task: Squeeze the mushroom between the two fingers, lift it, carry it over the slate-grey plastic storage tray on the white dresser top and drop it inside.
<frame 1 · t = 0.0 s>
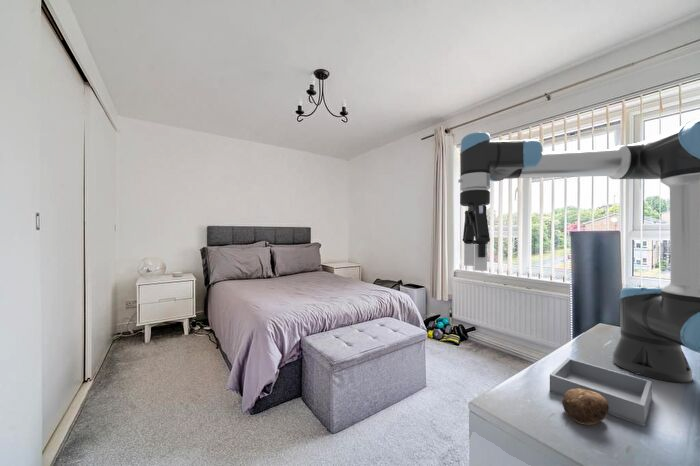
hand: (474, 268, 76), 28 cm above the dresser, fingers open, 13 cm apart
mushroom: (584, 420, 55), on the dresser
tray: (599, 395, 64), on the dresser
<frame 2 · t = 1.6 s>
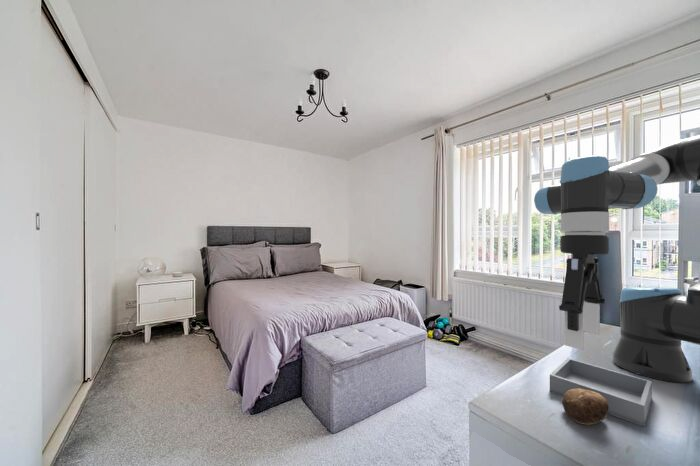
hand: (583, 339, 56), 16 cm above the dresser, fingers open, 13 cm apart
nothing on the dresser moved.
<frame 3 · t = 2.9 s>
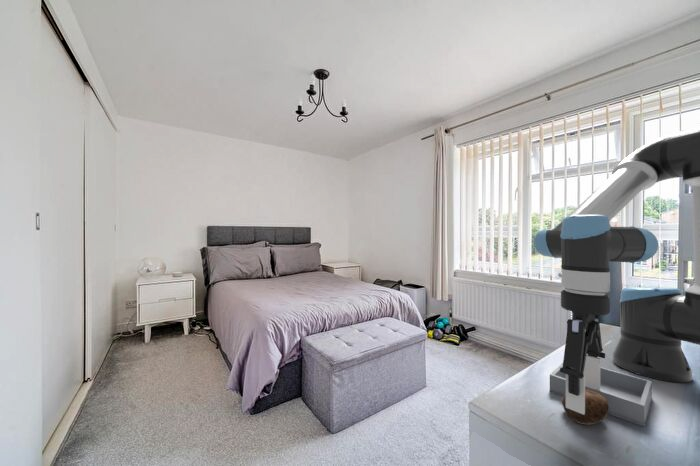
hand: (584, 398, 55), 4 cm above the dresser, fingers open, 13 cm apart
nothing on the dresser moved.
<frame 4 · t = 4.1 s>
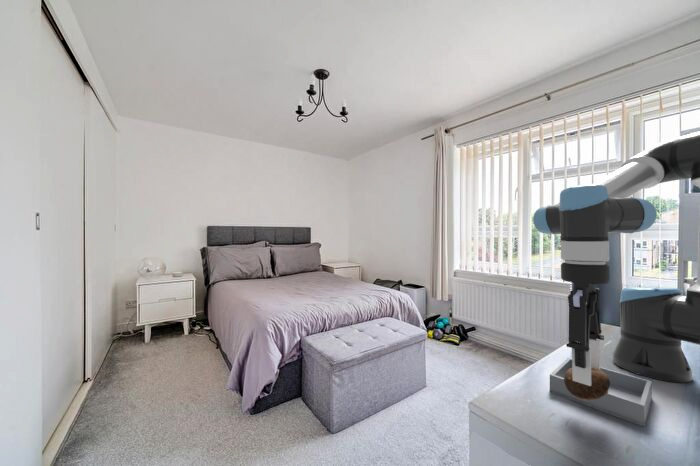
hand: (586, 376, 56), 9 cm above the dresser, fingers closed on mushroom, 7 cm apart
mushroom: (586, 397, 56), point 4 cm above the dresser, touching gripper
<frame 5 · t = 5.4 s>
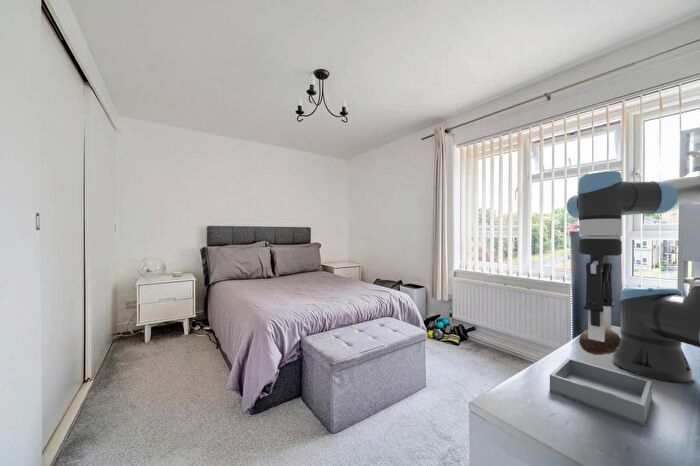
hand: (599, 336, 64), 14 cm above the dresser, fingers closed on mushroom, 7 cm apart
mushroom: (599, 354, 64), point 9 cm above the dresser, touching gripper
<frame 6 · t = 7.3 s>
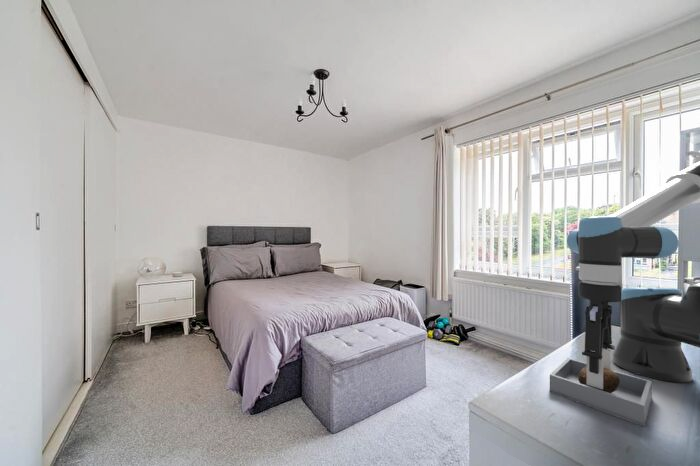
hand: (598, 380, 64), 3 cm above the dresser, fingers closed on mushroom, 8 cm apart
mushroom: (598, 393, 64), resting on tray, touching gripper
when the fingers open (3 cm above the dresser, at t = 7.8 s): mushroom stays where it is, resting on tray.
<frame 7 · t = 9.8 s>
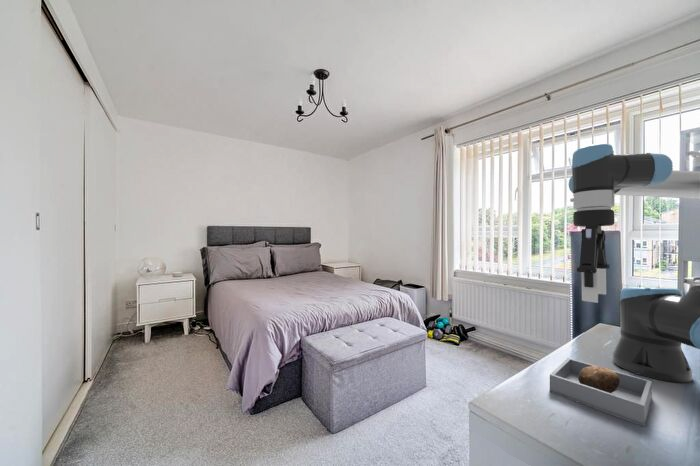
hand: (594, 297, 67), 22 cm above the dresser, fingers open, 13 cm apart
mushroom: (598, 393, 64), resting on tray
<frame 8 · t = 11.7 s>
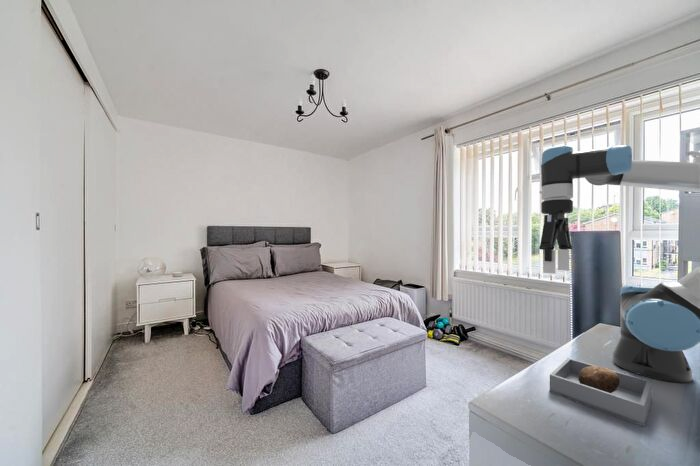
hand: (556, 271, 82), 27 cm above the dresser, fingers open, 13 cm apart
nothing on the dresser moved.
at the end: mushroom inside the target area on the tray (0.3 cm from its centre), point 0.4 cm above the tray's base; the gripper is holding nothing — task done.
